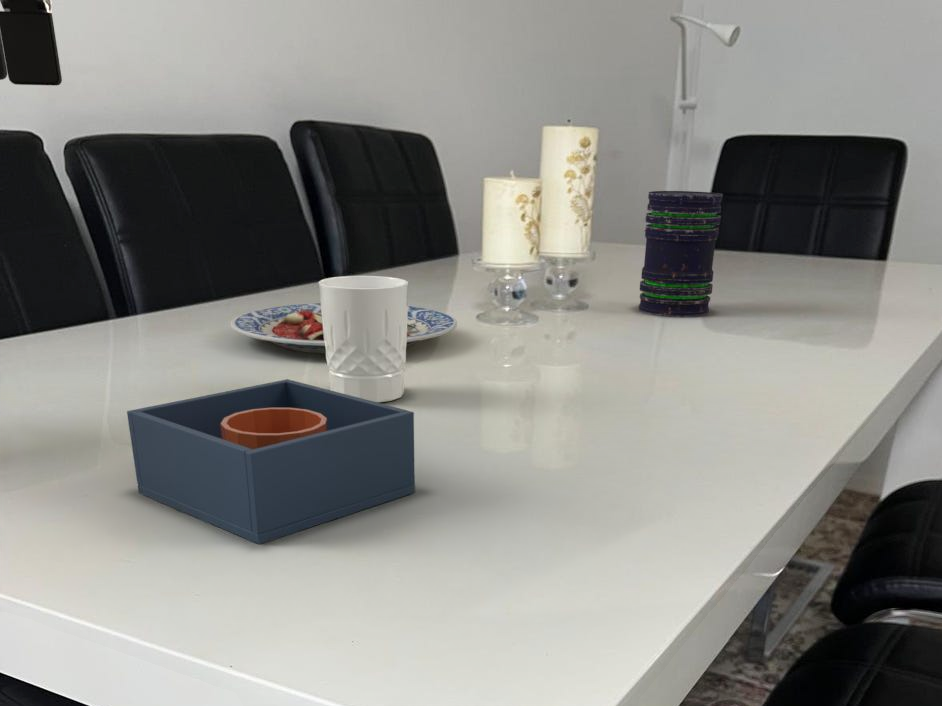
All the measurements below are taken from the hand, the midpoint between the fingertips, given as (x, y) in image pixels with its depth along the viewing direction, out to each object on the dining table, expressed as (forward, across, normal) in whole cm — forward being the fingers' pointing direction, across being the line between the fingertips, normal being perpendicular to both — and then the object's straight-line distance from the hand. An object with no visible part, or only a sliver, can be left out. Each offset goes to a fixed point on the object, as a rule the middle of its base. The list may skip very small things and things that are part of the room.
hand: (9, 81), depth 60 cm
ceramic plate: (+24, -49, +16) cm, 57 cm away
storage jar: (+24, -71, +60) cm, 96 cm away
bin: (+24, +5, +15) cm, 29 cm away
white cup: (+24, -23, +20) cm, 39 cm away
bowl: (+24, +5, +15) cm, 28 cm away
